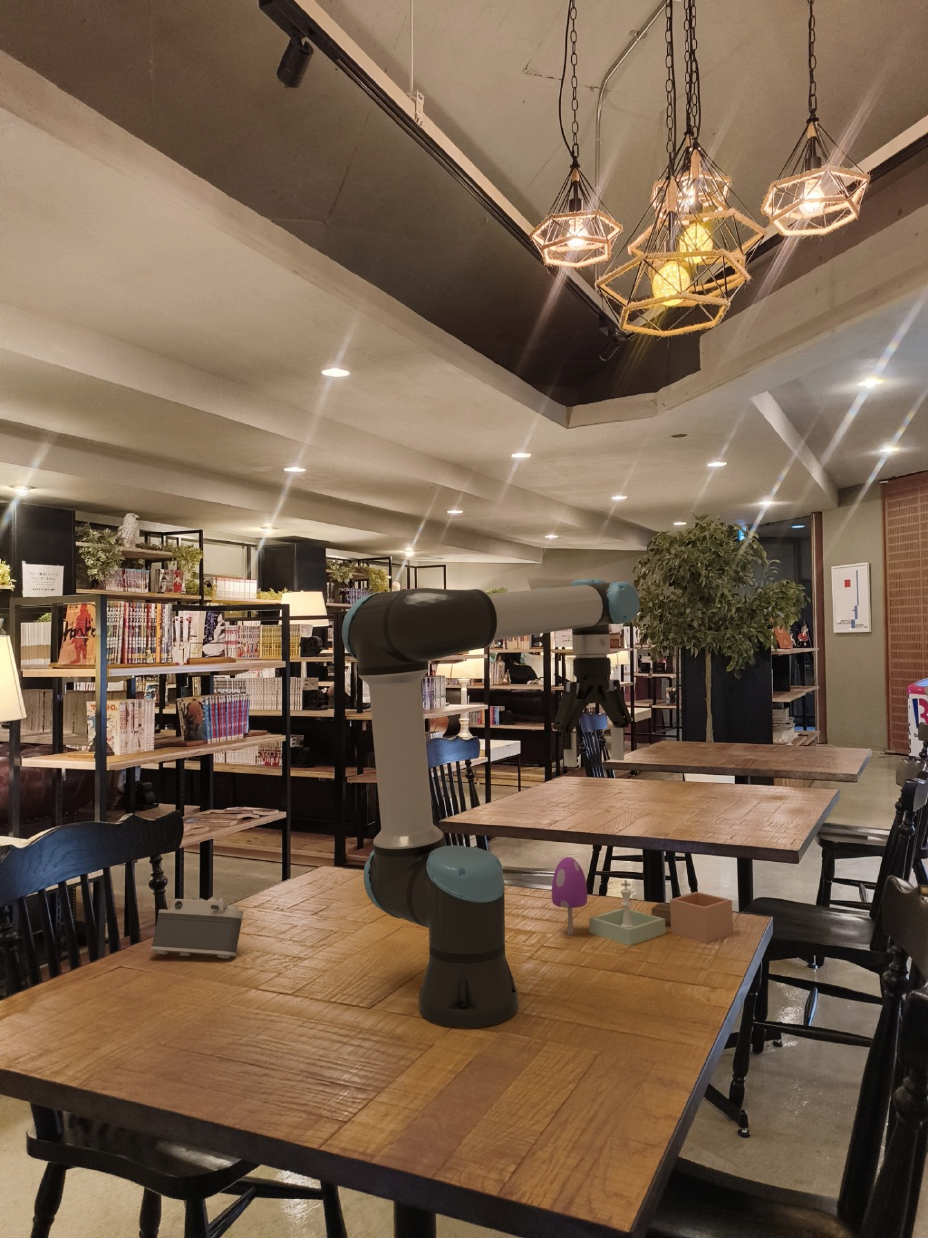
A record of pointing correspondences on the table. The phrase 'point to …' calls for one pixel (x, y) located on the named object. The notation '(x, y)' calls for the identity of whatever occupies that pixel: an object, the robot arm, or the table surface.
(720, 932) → the square terracotta box
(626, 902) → the chess piece
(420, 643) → the robot arm
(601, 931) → the green tray
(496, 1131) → the table surface
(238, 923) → the camera
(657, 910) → the walnut block
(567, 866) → the toy
